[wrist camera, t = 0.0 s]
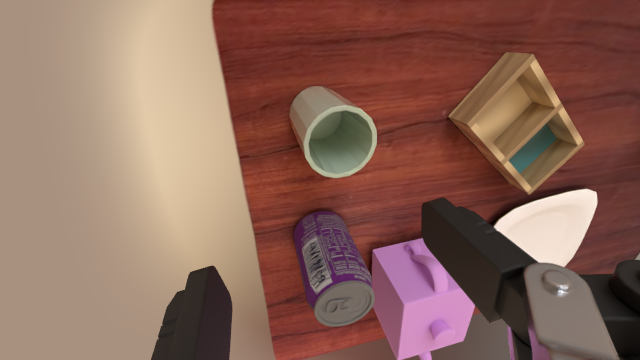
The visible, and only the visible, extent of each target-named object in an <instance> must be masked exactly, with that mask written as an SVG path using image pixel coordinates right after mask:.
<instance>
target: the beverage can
mask: <svg viewBox="0 0 640 360" xmlns="http://www.w3.org/2000/svg"><path fill="white" fill-rule="evenodd" d="M293 239H294V243H295V248H296V253H297V257H298V262H299V266H300V271H301V276H302V280H303V285H304V289H305V294H306V298H307V302H308V304H309V306H310V307H311V308H312V309H313V310H314V313H315V316H316V318H317V320H318V321H319V322H320V323H322V324H324V325H327V326H332V327H337V326H344V325H348V324H351V323H353V322H356V321H357V320H359V319H361V318H362V317H364V316H365V315H366V314H367V313H368V312H369V311H370V310H371V308H372V307H373V305H374V302H375V294H374V291H373V289H372V277H371V275H370V273H369V271H368V269H367V267H366V265H365V263H364V261H363V259H362V257H361V255H360V253H359V251H358V249H357V247H356V245H355V243H354V241H353V239H352V237H351V235H350V233H349V231H348V229H347V227H346V225H345V223H344V221H343V219H342V218H341V217H340V216H339V215H337V214H335V213H333V212H329V211H319V212H314V213H312V214H309V215H307V216H306V217H304V218H303V219H302V220H301V221H300V222H299V223H298V224H297V226H296V228H295V230H294V234H293Z"/></svg>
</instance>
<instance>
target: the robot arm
mask: <svg viewBox="0 0 640 360" xmlns="http://www.w3.org/2000/svg"><path fill="white" fill-rule="evenodd" d="M421 233H422V238H423V241H424V243H425V245H426V247H427V248H428V249H429V251H430V252H431V253H432V254H433V255H434V257H435V258H436V259H437V260H438V261H439V263H440V264H441V265H442V266H443V267H444V269H445V270H446V271H447V272H448V273H449V275H450V276H451V277H452V278H453V279H454V281H455V282H456V283H457V284H458V285H459V287H460V288H461V289H462V290H463V291H464V293H465V294H466V295H467V296H468V297H469V299H470V300H471V301H472V302H473V303H474V305H475V306H476V307H477V308H478V309H479V311H480V312H481V313H482V314H483V315H484V317H485V318H486V319H487V320H488V321H489V323H491V322H493V321H496V320H499V319H503V320H504V321H505V322H506V323H507V324H508V329H507V330H508V331H507V332H508V340H509V348H510V356H511V360H640V260H626V261H622V262H620V263H619V264H618V265H617V266H616V268H615V270H614V272H613V274H594V275H577V274H576V273H574V272H573V271H571V270H569V269H567V268H565V267H562V266H560V265H556V264H552V263H539V262H538V261H536V260H535V259H534V258H532V257H531V256H530V255H529V254H527V253H526V252H525V251H524V250H522V249H521V248H520V247H518V246H517V245H516V244H515V243H513V242H512V241H511V240H510V239H508V238H507V237H506V236H505V235H503V234H502V233H501V232H499V231H497V230H496V228H494V227H493V226H492V225H491V224H489V223H487V221H485V220H484V219H483V218H482V217H480V216H479V215H478V214H477V213H475V212H473V211H471V210H468V209H466V208H464V207H461V206H459V207H455V206H454V205H453V204H452V203H450V202H449V201H448V200H447V199H445V198H438V199H435V200H432V201H428V202H425V203H423V205H422V229H421ZM231 322H232V301H231V297H230V294H229V291H228V290H227V288H226V286H225V284H224V282H223V280H222V279H221V277H220V275H219V273H218V271H217V270H216V268H215V267H214V266H209V267H206V268H203V269H199V270H196V271H192V272H190V274H189V276H188V279H187V283H186V287H185V290H182V291H179V292H177V293H176V295H175V296H174V298H173V299H172V301H171V302H170V304H169V305H168V306H167V309H166V312H165V316H164V319H163V326H161V329H160V332H159V335H158V337H159V339H158V340H157V342H156V345H155V349H154V352H153V355H152V358H151V360H229V354H230V339H231Z"/></svg>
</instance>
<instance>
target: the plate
mask: <svg viewBox="0 0 640 360" xmlns="http://www.w3.org/2000/svg"><path fill="white" fill-rule="evenodd" d="M596 206H597V194H596V192H595V191H592V190H589V189H586V188H584V189H578V190H571V191H567V192H563V193H559V194H555V195H551V196H548V197H544V198H541V199H538V200H534V201H531V202H528V203H526V204H523V205H521V206H518V207H516V208H513V209H512V210H510V211H509V212H508V213H506V214H505V215H503V216H502V217H500V218H499V219H498V220H497V221H496V223H495V224H494V226H493V227H494V228H496V230H497V231H499V232H501V233H502V234H503V235H505V236H506V237H507V238H508V239H510V240H511V241H512V242H513V243H515V244H516V245H517V246H518V247H520V248H521V249H522V250H524V251H525V252H526V253H527V254H529V255H530V256H531V257H532V258H534V259H535V260H536V261H538V262H539V263H552V264H556V265H560V266H562V267H565V265H566V264H567V263H568V262H569V261H570V260H571V259H572V258H573V256H574V254H575V253H576V251H577V249H578V247H579V246H580V244H581V242H582V240H583V238H584V235H585V233H586V231H587V229H588V227H589V225H590V222H591V220H592V218H593V215H594V212H595V209H596Z"/></svg>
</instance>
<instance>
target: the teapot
mask: <svg viewBox="0 0 640 360" xmlns="http://www.w3.org/2000/svg"><path fill="white" fill-rule="evenodd" d="M372 289H373V291H374V294H375V302H374V305H373V309H374V311H375V313H376V315H377V317H378V320H379V322H380V324H381V326H382V328H383V331H384V333H385V335H386V337H387V340H388V342H389V344H390V346H391V348H392V351H393V353H394V355H395V357H396V359H397V360H402V359H405V358H409V357H412V356H415V355H419V357H420V360H432V358H431V354H430V351H432V350H436V349H439V348H442V347H445V346H448V345H451V344H455V343H458V342H462V341H463V340H464V338H465V335H466V332H467V329H468V326H469V323H470V320H471V317H472V313H473V310H474V307H475V305H474V303H473V302H472V301H471V300H470V299H469V297H468V296H467V295H466V294H465V293H464V291H463V290H462V289H461V288H460V287H459V285H458V284H457V283H456V282H455V281H454V279H453V278H452V277H451V276H450V275H449V273H448V272H447V271H446V270H445V269H444V267H443V266H442V265H441V264H440V263H439V261H438V260H437V259H436V258H435V257H434V255H433V254H432V253H431V252H430V251H429V249H428V248H427V247H426V245H425V243H424V241H423V238H421V239H416V240H412V241H408V242H404V243H399V244H395V245H391V246H386V247H381V248H377V249H373V252H372Z"/></svg>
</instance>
